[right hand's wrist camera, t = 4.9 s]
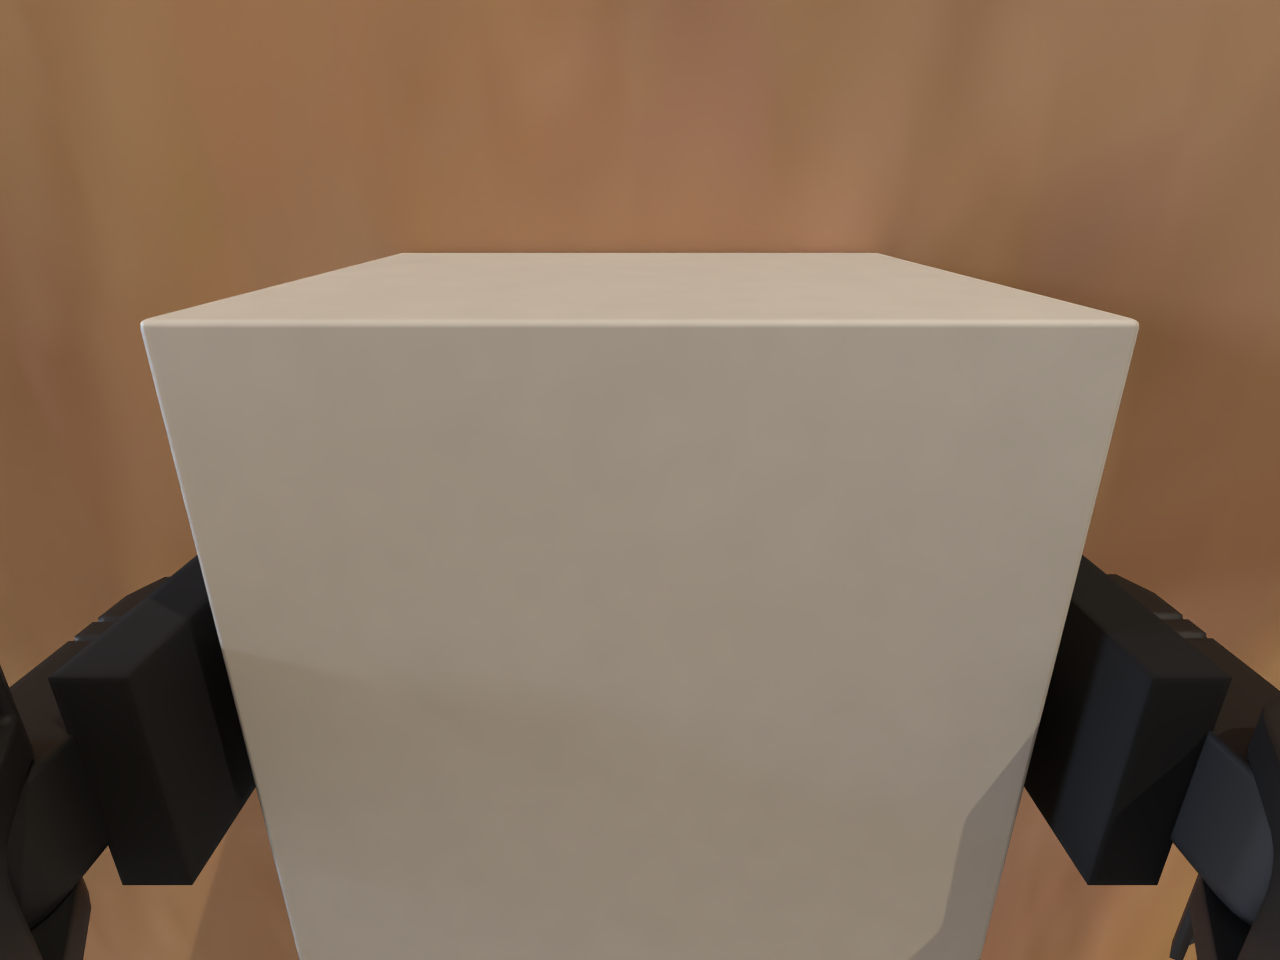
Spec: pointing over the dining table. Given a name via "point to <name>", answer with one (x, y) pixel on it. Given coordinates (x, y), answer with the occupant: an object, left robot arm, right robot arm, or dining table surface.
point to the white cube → (639, 592)
